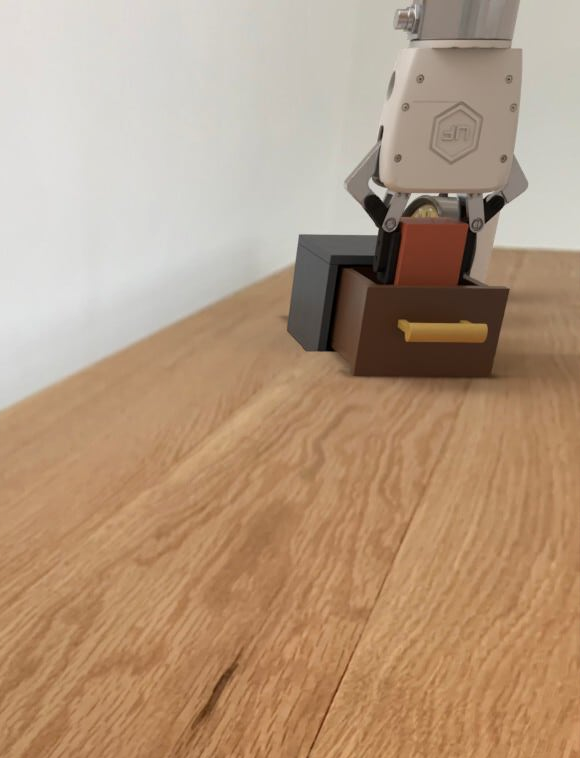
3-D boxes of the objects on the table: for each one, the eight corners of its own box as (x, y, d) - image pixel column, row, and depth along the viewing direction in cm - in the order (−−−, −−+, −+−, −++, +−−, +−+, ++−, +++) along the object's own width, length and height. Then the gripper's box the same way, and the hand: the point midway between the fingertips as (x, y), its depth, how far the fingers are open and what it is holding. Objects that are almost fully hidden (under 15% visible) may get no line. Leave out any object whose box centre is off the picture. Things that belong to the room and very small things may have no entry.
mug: (371, 296, 132) (387, 199, 127) (384, 286, 138) (400, 193, 133) (477, 305, 128) (497, 205, 122) (485, 294, 134) (505, 199, 128)
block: (438, 280, 96) (449, 217, 93) (456, 290, 92) (469, 223, 89) (380, 280, 96) (390, 216, 94) (396, 289, 92) (407, 223, 89)
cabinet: (452, 363, 102) (473, 256, 97) (315, 361, 102) (330, 254, 97) (408, 331, 114) (426, 235, 109) (286, 330, 114) (298, 234, 109)
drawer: (508, 394, 89) (530, 298, 85) (365, 393, 89) (381, 296, 85) (441, 348, 103) (457, 263, 100) (319, 346, 103) (331, 262, 100)
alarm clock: (376, 308, 125) (403, 146, 117) (420, 307, 126) (450, 146, 118) (423, 327, 116) (456, 153, 107) (470, 326, 117) (506, 153, 108)
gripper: (363, 25, 81) (327, 289, 91) (595, 25, 81) (536, 290, 91) (339, 28, 88) (308, 274, 97) (554, 29, 88) (503, 275, 97)
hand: (418, 279), depth 94 cm, fingers closed on block, 5 cm apart
